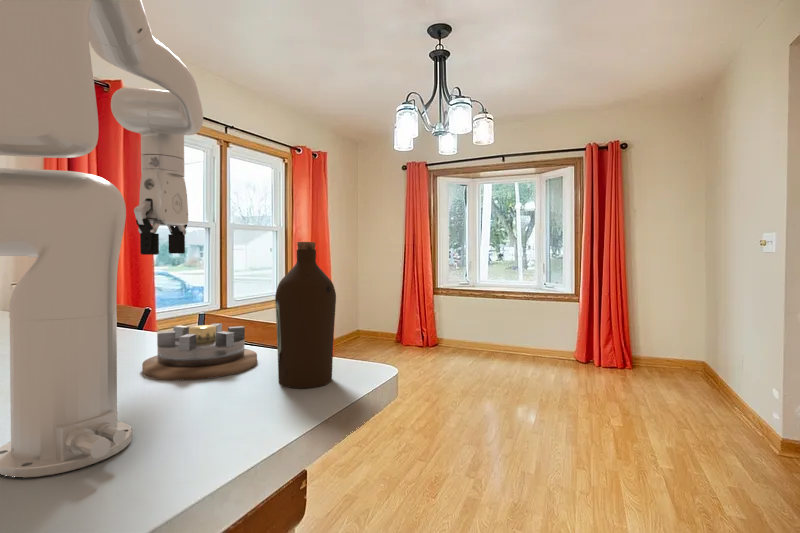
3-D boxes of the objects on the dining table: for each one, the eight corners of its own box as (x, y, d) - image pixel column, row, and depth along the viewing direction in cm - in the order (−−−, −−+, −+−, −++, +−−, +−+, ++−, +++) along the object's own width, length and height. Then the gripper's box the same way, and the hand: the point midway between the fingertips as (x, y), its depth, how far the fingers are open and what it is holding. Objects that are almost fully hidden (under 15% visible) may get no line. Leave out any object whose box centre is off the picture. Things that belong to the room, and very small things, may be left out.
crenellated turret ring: (261, 353, 91) (261, 325, 91) (193, 370, 77) (193, 337, 76) (209, 345, 98) (209, 319, 98) (139, 359, 84) (139, 329, 84)
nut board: (278, 360, 92) (278, 353, 92) (190, 386, 73) (190, 377, 73) (211, 349, 102) (211, 343, 102) (118, 370, 83) (118, 362, 83)
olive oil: (338, 373, 83) (339, 243, 82) (331, 390, 72) (332, 241, 72) (282, 372, 83) (283, 242, 82) (267, 390, 72) (268, 240, 71)
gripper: (157, 159, 77) (158, 255, 78) (202, 175, 94) (202, 253, 95) (115, 158, 77) (116, 254, 78) (168, 174, 94) (168, 252, 95)
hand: (164, 253), depth 86 cm, fingers open, 9 cm apart
